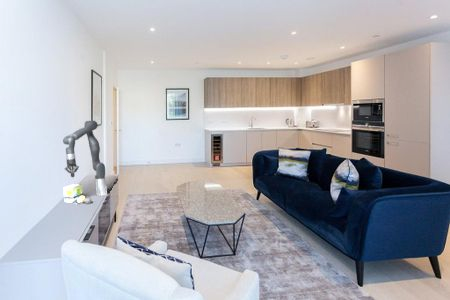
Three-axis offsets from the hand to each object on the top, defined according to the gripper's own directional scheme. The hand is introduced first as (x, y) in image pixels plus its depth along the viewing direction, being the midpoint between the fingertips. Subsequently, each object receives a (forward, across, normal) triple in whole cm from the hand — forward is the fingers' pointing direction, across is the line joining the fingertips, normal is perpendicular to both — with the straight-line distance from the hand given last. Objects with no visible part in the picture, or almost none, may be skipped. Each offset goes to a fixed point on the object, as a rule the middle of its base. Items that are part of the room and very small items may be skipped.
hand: (72, 177), depth 329 cm
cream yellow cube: (+22, -7, 0) cm, 24 cm away
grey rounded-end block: (+25, -7, +12) cm, 28 cm away
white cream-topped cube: (+22, -1, +7) cm, 24 cm away
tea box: (+25, -4, -13) cm, 28 cm away
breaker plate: (+25, -5, +3) cm, 25 cm away
